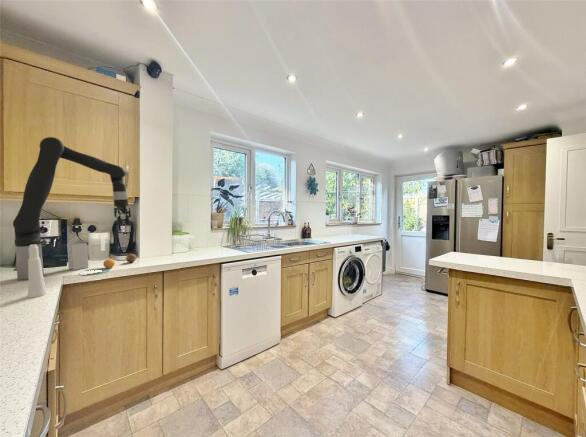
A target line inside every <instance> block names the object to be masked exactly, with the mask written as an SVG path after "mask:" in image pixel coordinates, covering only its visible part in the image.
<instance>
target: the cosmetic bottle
mask: <svg viewBox="0 0 586 437" xmlns="http://www.w3.org/2000/svg"><path fill="white" fill-rule="evenodd" d="M29 246H30V247H29V257H30V259H28V275H29V279H28V287H27V288H28V289H27V296H26V297H27V298H30V299H31V298H37V297H42V296H45V295H47V294H48V292H47V287H46V284H45V279H44V275H43V272H42V265H41V259H40V258H39V253H38V247H37V245H36V244H35V245H29Z"/></svg>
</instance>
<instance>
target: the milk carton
mask: <svg viewBox="0 0 586 437" xmlns="http://www.w3.org/2000/svg"><path fill="white" fill-rule="evenodd" d="M66 247H67V249H66V250H67V261H68V262H67V263H68V269H69V270H72V271H78V270H83V269H87V268H89V255H88V243H87V242H86V241H84V240H82V239H80V237H79V236H76V235H74V236H73V238H71V239H69V242H67V243H66Z"/></svg>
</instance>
